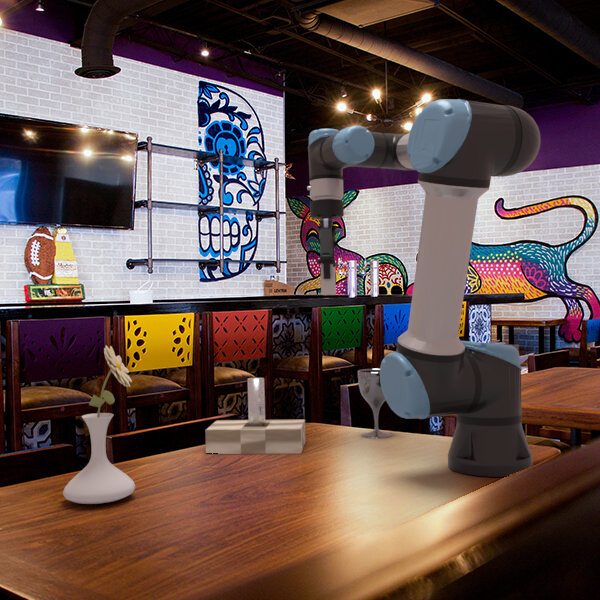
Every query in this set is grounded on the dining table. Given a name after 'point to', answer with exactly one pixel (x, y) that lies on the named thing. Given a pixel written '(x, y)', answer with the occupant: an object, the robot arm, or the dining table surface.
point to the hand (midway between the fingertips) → (328, 295)
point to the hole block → (255, 437)
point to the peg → (256, 402)
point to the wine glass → (372, 397)
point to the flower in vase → (101, 450)
